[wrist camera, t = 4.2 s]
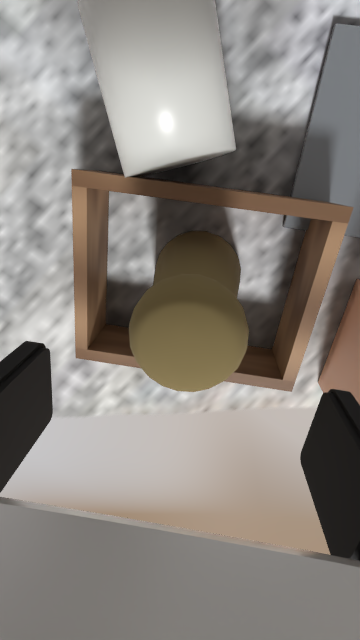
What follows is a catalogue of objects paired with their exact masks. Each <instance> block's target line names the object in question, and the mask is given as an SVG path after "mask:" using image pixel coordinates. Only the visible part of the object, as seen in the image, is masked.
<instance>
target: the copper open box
mask: <svg viewBox="0 0 360 640" xmlns="http://www.w3.org/2000/svg"><path fill="white" fill-rule="evenodd" d="M318 383H319V385H320V387H321V389H322V391H323V393H324V392H328V391H329V390H330V389H337V390H343V391H349V392H351V393H352V395H353V396H354V397H355V399H356V400H357V402H358V403H359V405H360V279H356V282H355V285H354V287H353V290H352V293H351V295H350V298H349V301H348V303H347V306H346V309H345V311H344V314H343V317H342V320H341V322H340V325H339V328H338V330H337V333H336V336H335V338H334V341H333V344H332V346H331V349H330V352H329V354H328V357H327V360H326V362H325V365H324V368H323V370H322V373H321V376H320V378H319V381H318Z"/></svg>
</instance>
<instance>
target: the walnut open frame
mask: <svg viewBox="0 0 360 640" xmlns="http://www.w3.org/2000/svg"><path fill="white" fill-rule="evenodd" d="M109 191H114V192H121V193H129V194H136V195H143V196H150V197H158V198H165V199H172V200H180V201H187V202H194V203H202V204H209V205H216V206H223V207H231V208H238V209H245V210H253V211H260V212H267V213H275V214H282V215H289V216H296V217H304V218H311V221H310V224H309V228H308V230H306V232H305V235H304V239H303V242H302V246H301V249H300V253H299V256H298V260H297V263H296V267H295V270H294V274H293V277H292V281H291V285H290V288H289V292H288V295H287V299H286V302H285V306H284V309H283V313H282V316H281V320H280V323H279V327H278V330H277V334H276V337H275V341H274V345H273V348H272V349H266V348H260V347H253V346H247V350H246V353H245V355H244V357H243V359H242V361H241V363H240V365H239V367H238V369H237V370H235V371H234V372H233V373H232V374H231V375H230V376H229V377H228V378H227V379H226V380H225V381H226V382H233V383H239V384H246V385H252V386H258V387H265V388H271V389H278V390H284V391H290V392H292V389H293V386H294V383H295V380H296V377H297V374H298V371H299V368H300V365H301V362H302V360H303V357H304V354H305V351H306V348H307V345H308V342H309V339H310V336H311V333H312V330H313V327H314V324H315V321H316V318H317V315H318V312H319V309H320V306H321V303H322V300H323V297H324V294H325V291H326V288H327V285H328V282H329V279H330V276H331V273H332V270H333V267H334V264H335V261H336V258H337V255H338V252H339V249H340V246H341V243H342V240H343V237H344V234H345V231H346V229H347V226H348V223H349V220H350V217H351V214H352V211H353V208H354V207H350V206H345V205H340V204H336V203H331V202H324V201H317V200H310V199H302V198H295V197H289V196H281V195H274V194H266V193H259V192H251V191H244V190H237V189H229V188H222V187H214V186H207V185H200V184H192V183H185V182H177V181H170V180H163V179H155V178H148V177H125V176H124V174H118V173H111V172H103V171H94V170H77V169H72V212H73V257H74V302H75V346H76V358H79V359H86V360H92V361H98V362H105V363H111V364H118V365H124V366H130V367H137V368H141V367H140V366H139V364H138V363H137V362H136V360H135V358H134V355H133V353H132V350H131V348H130V339H129V328H128V327H121V326H115V325H108V324H106V294H107V252H108V210H109Z"/></svg>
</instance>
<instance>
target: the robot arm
mask: <svg viewBox="0 0 360 640" xmlns="http://www.w3.org/2000/svg"><path fill="white" fill-rule="evenodd" d="M52 413H53V408H52V385H51V363H50V351H49V349H47V348H46V347H45V345H44V344H43V343H36V342H30V341H25V342H24V343H23V344H21V345H20V346H19V347H18V348H16V349H15V350H14V351H13V352H12V353H10V354H9V355H8V356H7V357H5V358H4V359H3V360H2V361H1V362H0V492H1V491H2V490H3V488H4V487H5V485H6V484H7V482H8V481H9V479H10V478H11V477H12V475H13V474H14V472H15V471H16V469H17V468H18V467H19V465H20V464H21V462H22V461H23V459H24V458H25V456H26V455H27V454H28V452H29V451H30V449H31V448H32V446H33V445H34V443H35V442H36V441H37V439H38V438H39V436H40V435H41V433H42V432H43V431H44V429H45V428H46V426H47V425H48V423H49V422H50V420H51V417H52ZM301 465H302V468H303V471H304V474H305V477H306V480H307V483H308V486H309V489H310V492H311V496H312V499H313V502H314V505H315V508H316V511H317V514H318V517H319V520H320V523H321V526H322V529H323V532H324V535H325V538H326V542H327V544H328V548H329V551H330V554H331V555H328V554H322V553H318V552H313V551H307V550H301V549H296V548H291V547H285V546H280V545H273V544H269V543H263V542H257V541H252V540H247V539H241V538H236V537H230V536H225V535H219V534H214V533H208V532H202V531H196V530H191V529H185V528H179V527H174V526H168V525H163V524H157V523H151V522H145V521H139V520H134V519H128V518H123V517H117V516H111V515H105V514H99V513H94V512H88V511H82V510H76V509H70V508H63V507H58V506H52V505H46V504H40V503H34V502H29V501H23V500H17V499H9V498H4V497H0V640H360V405H359V403H358V402H357V400H356V399H355V397H354V396H353V395H352V393H351V392H349V391H343V390H337V389H330V390H329V391H328V392H324V393H323V395H322V397H321V400H320V402H319V405H318V408H317V411H316V413H315V417H314V419H313V421H312V424H311V427H310V430H309V432H308V435H307V438H306V441H305V444H304V446H303V449H302V451H301Z"/></svg>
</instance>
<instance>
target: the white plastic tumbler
mask: <svg viewBox="0 0 360 640" xmlns="http://www.w3.org/2000/svg"><path fill="white" fill-rule="evenodd" d="M78 8H79V12H80V16H81V19H82V23H83V27H84V30H85V34H86V38H87V41H88V45H89V49H90V52H91V56H92V60H93V63H94V67H95V71H96V74H97V78H98V82H99V85H100V89H101V93H102V96H103V100H104V104H105V107H106V111H107V115H108V118H109V122H110V126H111V129H112V133H113V137H114V140H115V144H116V148H117V151H118V155H119V159H120V162H121V166H122V169H123V173H124V176H125V177H140V176H145V175H150V174H154V173H159V172H163V171H167V170H171V169H175V168H179V167H183V166H187V165H191V164H194V163H198V162H202V161H205V160H208V159H212V158H215V157H218V156H221V155H224V154H227V153H230V152H232V151H235V150H236V145H235V138H234V131H233V123H232V116H231V109H230V102H229V95H228V88H227V81H226V74H225V67H224V60H223V53H222V46H221V39H220V32H219V25H218V18H217V11H216V3H215V0H78Z"/></svg>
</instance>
